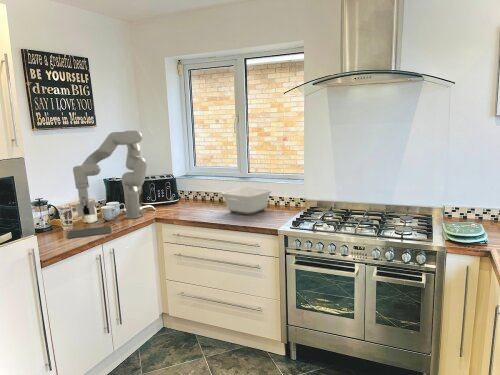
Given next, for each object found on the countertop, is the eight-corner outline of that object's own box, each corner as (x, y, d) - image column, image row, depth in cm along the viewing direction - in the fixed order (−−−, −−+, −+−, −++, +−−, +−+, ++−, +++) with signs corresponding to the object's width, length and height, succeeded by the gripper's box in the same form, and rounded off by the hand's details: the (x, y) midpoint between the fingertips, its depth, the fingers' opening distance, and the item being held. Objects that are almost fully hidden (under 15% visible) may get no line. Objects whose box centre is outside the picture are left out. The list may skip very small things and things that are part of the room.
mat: (110, 226, 240) (110, 225, 239) (111, 233, 225) (111, 232, 225) (69, 231, 231) (69, 231, 231) (67, 239, 216) (67, 238, 216)
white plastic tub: (248, 219, 245) (248, 197, 242) (216, 214, 262) (215, 193, 259) (277, 209, 272) (276, 189, 269) (246, 204, 289) (245, 186, 286)
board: (95, 213, 240) (93, 201, 238) (95, 214, 237) (93, 202, 236) (78, 215, 236) (76, 203, 234) (78, 216, 234) (76, 204, 232)
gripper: (76, 184, 239) (80, 211, 242) (75, 188, 224) (79, 217, 228) (88, 182, 241) (93, 210, 245) (88, 186, 227) (93, 215, 230)
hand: (86, 213), depth 236 cm, fingers closed on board, 2 cm apart
